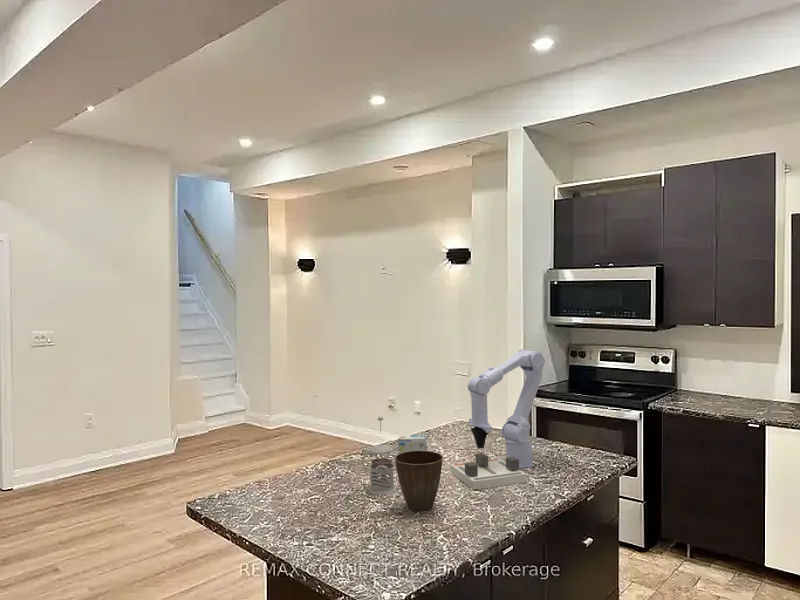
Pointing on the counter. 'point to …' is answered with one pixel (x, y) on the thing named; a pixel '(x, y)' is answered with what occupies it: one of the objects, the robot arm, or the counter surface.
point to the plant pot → (419, 478)
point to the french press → (381, 470)
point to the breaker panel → (489, 473)
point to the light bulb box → (411, 443)
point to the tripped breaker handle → (481, 460)
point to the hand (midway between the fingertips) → (480, 447)
